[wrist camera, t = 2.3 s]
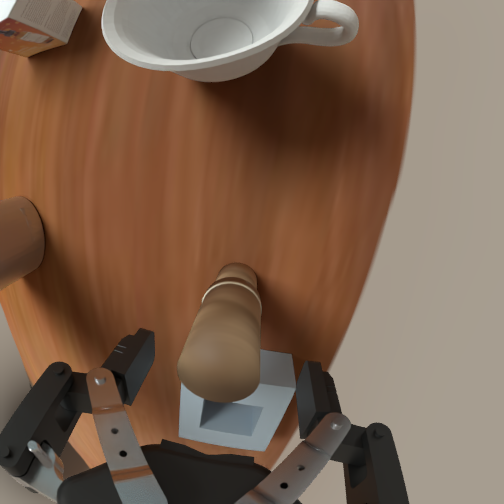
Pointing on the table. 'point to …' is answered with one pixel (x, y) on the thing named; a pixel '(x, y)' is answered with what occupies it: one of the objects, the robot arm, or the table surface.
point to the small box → (36, 24)
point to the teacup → (218, 33)
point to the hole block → (242, 409)
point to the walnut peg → (225, 339)
